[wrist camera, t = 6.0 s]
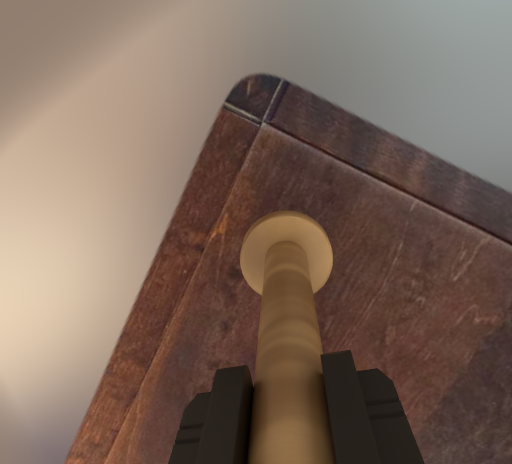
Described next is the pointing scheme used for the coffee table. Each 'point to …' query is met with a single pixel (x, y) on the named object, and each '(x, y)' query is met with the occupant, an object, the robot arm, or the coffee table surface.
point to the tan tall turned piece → (288, 340)
